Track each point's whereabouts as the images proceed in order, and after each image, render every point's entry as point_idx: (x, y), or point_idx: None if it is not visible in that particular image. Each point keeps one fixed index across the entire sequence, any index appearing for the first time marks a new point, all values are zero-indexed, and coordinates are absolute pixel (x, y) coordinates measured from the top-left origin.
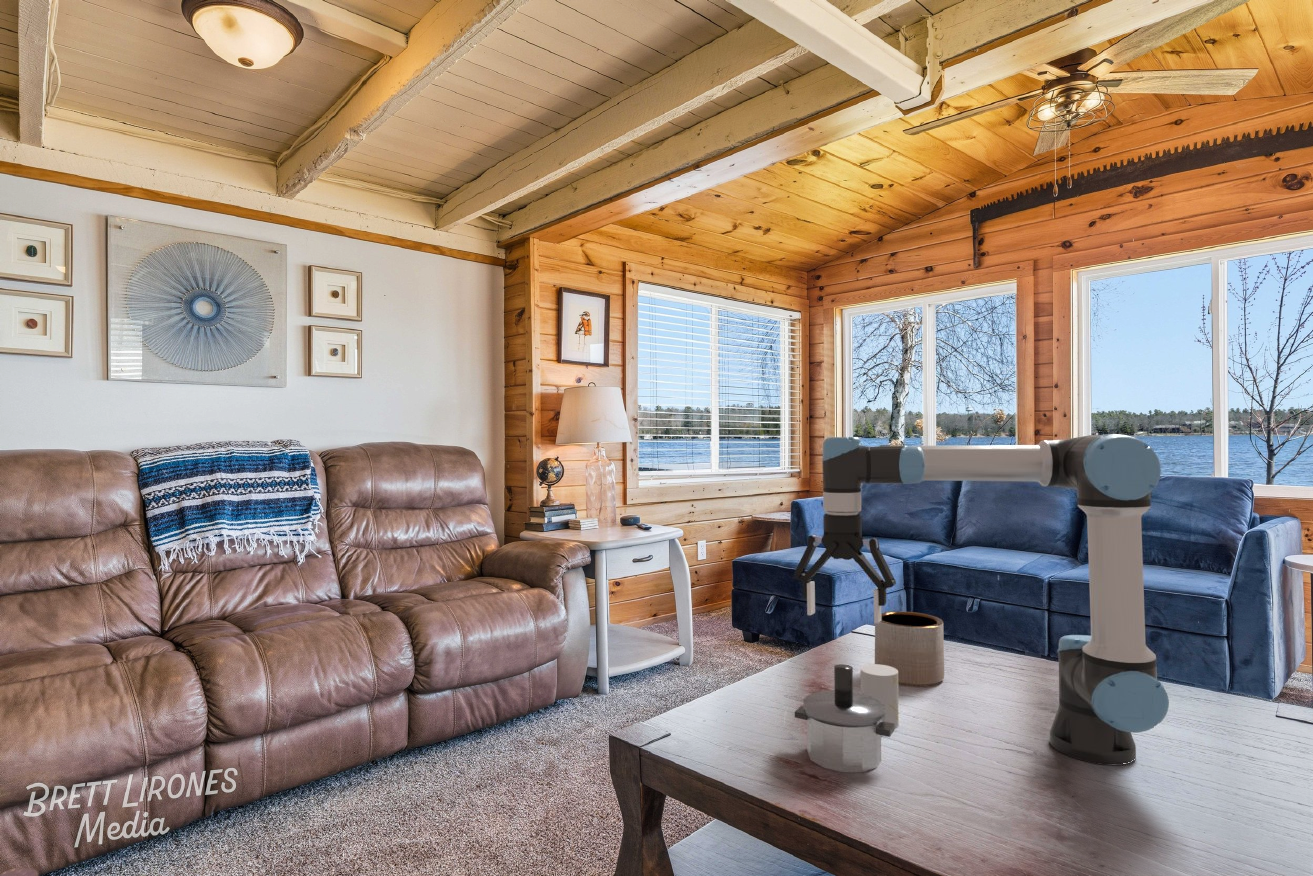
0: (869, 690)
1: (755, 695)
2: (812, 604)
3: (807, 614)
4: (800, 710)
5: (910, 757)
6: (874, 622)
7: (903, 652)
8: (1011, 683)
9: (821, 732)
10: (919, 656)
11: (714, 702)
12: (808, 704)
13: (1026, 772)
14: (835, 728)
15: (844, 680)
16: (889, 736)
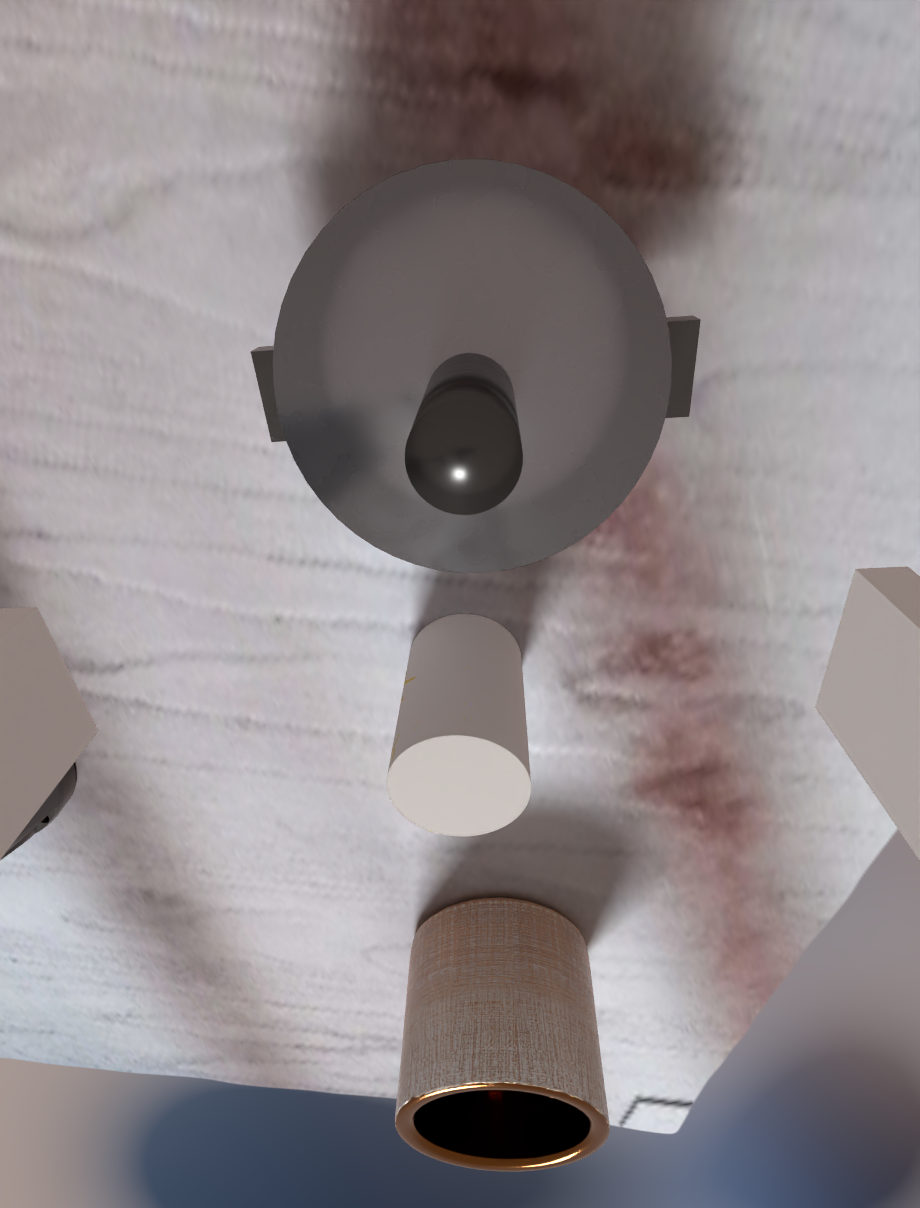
0: (477, 692)
1: None
2: (912, 719)
3: (909, 572)
4: (677, 353)
5: (292, 475)
6: (27, 609)
7: (490, 988)
8: (285, 984)
9: None
10: (446, 985)
11: None
12: (628, 285)
13: (10, 556)
14: None
15: (440, 389)
16: (259, 347)
